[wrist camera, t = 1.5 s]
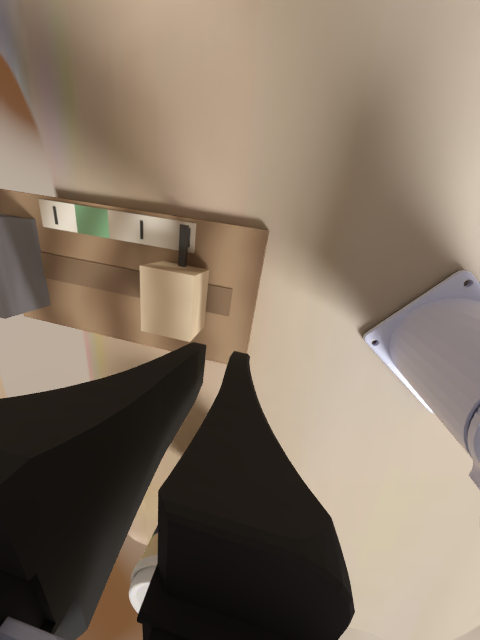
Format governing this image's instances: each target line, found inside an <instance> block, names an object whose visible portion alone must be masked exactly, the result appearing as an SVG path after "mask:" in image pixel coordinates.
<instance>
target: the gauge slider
mask: <svg viewBox="0 0 480 640" xmlns="http://www.w3.org/2000/svg"><path fill="white" fill-rule="evenodd" d="M188 236H189V225H184V224H180V230H179V255H178V264H176V263H171V262H165V261H160V262H155V263H150V264H144V265H140V307H141V331H144V332H148V333H152V334H157V335H161V336H166V337H170V338H174V339H179V340H183V341H187V342H191V340H192V339H193V338H194V337H195V336H196V335H197V334H198V333H199V332H200V331H201V330H202V329H203V327H204V322H205V312H206V301H207V290H208V279H209V269H203V268H198V267H193V266H187V254H188Z"/></svg>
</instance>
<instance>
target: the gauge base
mask: <svg viewBox="0 0 480 640" xmlns="http://www.w3.org/2000/svg"><path fill="white" fill-rule="evenodd" d="M180 224H184V225H189V236H188V254H187V266H193V267H198V268H203V269H209V279H208V290H207V301H206V312H205V322H204V327H203V329H202V330H201V331H200V332H199V333H198V334H197V335H196V336H195V337H194V338H193V339H192V340H191V342H187V341H183V340H179V339H174V338H170V337H166V336H161V335H157V334H152V333H148V332H144V331H141V307H140V265H144V264H150V263H155V262H160V261H165V262H171V263H176V264H178V255H179V230H180ZM268 234H269V231H268V230H263V229H256V228H250V227H243V226H237V225H230V224H224V223H217V222H211V221H204V220H198V219H192V218H185V217H179V216H172V215H166V214H159V213H153V212H146V211H140V210H133V209H127V208H120V207H114V206H108V205H101V204H95V203H88V202H82V201H75V200H69V199H62V198H56V197H49V196H43V195H36V194H30V193H23V192H16V191H11V190H4V189H0V317H1V318H8V317H11V316H15V315H19V314H22V313H23V314H24V316H26V317H30V318H34V319H39V320H42V321H47V322H51V323H55V324H59V325H63V326H68V327H72V328H76V329H80V330H84V331H89V332H93V333H97V334H101V335H105V336H109V337H114V338H118V339H122V340H126V341H130V342H135V343H139V344H143V345H147V346H151V347H156V348H160V349H164V350H168V351H174V350H176V349H179V348H181V347H183V346H185V345H187V344H189V343H192V342H196V343H201V344H205V345H207V346H206V355H205V359H206V360H210V361H214V362H219V363H223V364H227V365H228V361H229V358H230V356H231V354H232V353H233V352H234V351H237V352H242V353H246V354H247V350H248V345H249V339H250V334H251V328H252V322H253V317H254V311H255V306H256V300H257V295H258V289H259V284H260V278H261V273H262V267H263V261H264V256H265V250H266V245H267V239H268Z"/></svg>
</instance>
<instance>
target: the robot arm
mask: <svg viewBox="0 0 480 640" xmlns="http://www.w3.org/2000/svg"><path fill="white" fill-rule="evenodd" d="M466 280H469V283H468V284H467V285H465V286H464V282H465V281H466ZM363 339H364V341H365V342H366V343H367V344H368V345H369V346H370V347H371V349H372V350H373V351H374V352H375V353H376V354H377V355H378V356H379V357H380V358H381V359H382V361H383V362H384V363H385V364H386V365H387V366H388V367H389V368H390V369H391V370H392V371H393V373H394V374H395V375H396V376H397V377H398V378H399V379H400V380H401V381H402V382H403V383H404V385H405V386H406V387H407V388H408V389H409V390H410V391H411V392H412V393H413V394H414V395H415V397H416V398H417V399H418V400H419V401H420V402H421V403H422V404H423V405H424V406H425V407H426V409H427V410H428V411H430V412H432V413H434V414H435V415H436V416H437V417H438V418H439V420H440V421H441V422H442V423H443V424H444V426H445V427H446V428H447V429H448V430H449V432H450V433H451V434H452V435H453V436H454V438H455V439H456V440H457V441H458V442H459V443H460V445H461V446H462V447H463V448H464V449H465V451H466V452H467V453H468V454H469V455H470V457H471V458H472V459H473V468H472V470H471V472H470V474H469V476H470V478H471V479H472V480H473V482H474V483H475V484H476V486H477V487H478V488H479V489H480V283H479V282H478V280H477V279H476V278H475V277H474V275H473V274H472V273H471V272H470V271H466V270H460V271H458V272H456V273H454V274H453V275H451V276H450V277H448V278H447V279H445V280H444V281H442V282H441V283H439V284H438V285H436V286H435V287H433V288H432V289H430V290H429V291H427V292H426V293H424V294H423V295H421V296H420V297H418V298H417V299H415V300H414V301H412V302H411V303H409V304H408V305H406V306H405V307H403V308H402V309H400V310H399V311H397V312H396V313H394V314H393V315H391V316H390V317H388V318H387V319H385V320H384V321H382V322H381V323H379V324H378V325H376V326H375V327H373V328H372V329H371V330H369V331H368V332H366V333H365V334H364V336H363ZM374 340H377V342H376V343H375V344H372V341H374ZM206 346H207V345H205V344H201V343H196V342H192V343H189V344H187V345H185V346H183V347H181V348H179V349H176V350H174V351H172V352H170V353H168V354H166V355H164V356H161V357H159V358H157V359H155V360H152V361H150V362H147V363H145V364H142V365H140V366H137V367H135V368H132V369H130V370H127V371H124V372H121V373H118V374H114V375H111V376H108V377H105V378H101V379H98V380H94V381H90V382H86V383H82V384H78V385H74V386H70V387H65V388H60V389H56V390H50V391H46V392H40V393H34V394H29V395H23V396H17V397H10V398H2V399H0V640H75V639H77V638H78V637H79V636H81V635H82V634H83V633H84V632H85V631H86V630H87V629H88V626H89V624H90V621H91V619H92V616H93V614H94V612H95V609H96V607H97V604H98V602H99V599H100V597H101V595H102V592H103V590H104V588H105V585H106V583H107V580H108V578H109V576H110V573H111V571H112V569H113V566H114V564H115V561H116V559H117V557H118V554H119V552H120V550H121V548H122V545H123V543H124V541H125V538H126V536H127V534H128V531H129V529H130V527H131V525H132V522H133V520H134V518H135V516H136V513H137V511H138V509H139V507H140V505H141V502H142V500H143V498H144V496H145V493H146V491H147V489H148V487H149V485H150V483H151V481H152V478H153V476H154V474H155V472H156V470H157V468H158V466H159V464H160V461H161V459H162V458H163V456H164V454H165V452H166V450H167V448H168V447H169V445H170V443H171V442H172V440H173V438H174V436H175V435H176V433H177V431H178V430H179V428H180V426H181V425H182V423H183V421H184V420H185V418H186V416H187V414H188V413H189V411H190V409H191V408H192V406H193V404H194V402H195V400H196V398H197V395H198V393H199V391H200V388H201V386H202V383H203V375H204V365H205V355H206ZM249 359H250V356H249V355H248V354H246V353H242V352H237V351H234V352H233V353H232V354H231V356H230V358H229V361H228V365H227V368H226V371H225V375H224V378H223V382H222V385H221V388H220V390H219V393H218V395H217V397H216V399H215V401H214V403H213V405H212V407H211V409H210V410H209V412H208V414H207V416H206V418H205V419H204V421H203V423H202V425H201V427H200V428H199V430H198V432H197V433H196V435H195V437H194V438H193V440H192V442H191V443H190V445H189V446H188V448H187V450H186V451H185V453H184V454H183V456H182V457H181V459H180V460H179V462H178V463H177V464H176V466H175V467H174V469H173V470H172V472H171V473H170V475H169V476H168V478H167V479H166V481H165V482H164V483H163V485H162V486H161V488H160V489H159V490H158V563H157V566H156V568H155V571H154V574H153V576H152V579H151V581H150V584H149V587H148V589H147V592H146V595H145V597H144V600H143V602H142V605H141V608H140V610H139V614H138V617H137V622H139V623H142V625H143V640H338V639H339V637H340V636H341V635H342V634H343V633H344V631H345V630H346V629H347V627H348V626H349V624H350V622H351V620H352V617H353V615H354V613H355V610H354V604H353V597H352V591H351V585H350V580H349V576H348V571H347V567H346V564H345V560H344V557H343V553H342V550H341V546H340V543H339V540H338V537H337V534H336V530H335V527H334V524H333V521H332V518H331V517H330V515H329V514H328V513H327V511H326V510H325V509H324V507H323V506H322V505H321V503H320V502H319V501H318V500H317V498H316V497H315V496H314V494H313V493H312V492H311V491H310V489H309V488H308V487H307V485H306V484H305V483H304V481H303V480H302V478H301V477H300V475H299V474H298V472H297V471H296V469H295V468H294V467H293V465H292V464H291V462H290V461H289V459H288V457H287V456H286V454H285V452H284V451H283V449H282V447H281V445H280V444H279V442H278V440H277V439H276V437H275V435H274V434H273V432H272V430H271V428H270V426H269V424H268V422H267V420H266V417H265V415H264V413H263V411H262V408H261V406H260V403H259V401H258V398H257V395H256V392H255V389H254V385H253V381H252V377H251V372H250V365H249Z"/></svg>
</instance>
